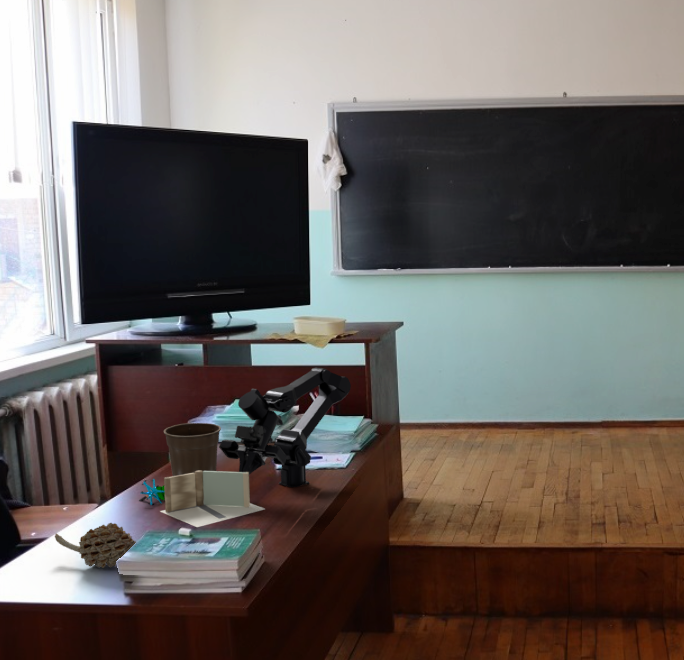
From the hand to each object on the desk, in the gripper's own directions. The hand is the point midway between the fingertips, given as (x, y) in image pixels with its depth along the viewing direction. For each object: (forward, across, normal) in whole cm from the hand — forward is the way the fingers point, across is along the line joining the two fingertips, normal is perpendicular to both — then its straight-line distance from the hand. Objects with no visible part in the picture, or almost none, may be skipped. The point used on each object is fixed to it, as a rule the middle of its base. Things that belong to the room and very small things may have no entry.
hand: (240, 479), depth 257 cm
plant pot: (-3, -25, +14) cm, 28 cm away
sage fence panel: (+7, -3, +2) cm, 8 cm away
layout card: (+10, -4, 0) cm, 11 cm away
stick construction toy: (+10, -24, +1) cm, 26 cm away
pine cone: (+41, -5, -30) cm, 52 cm away
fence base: (+11, -12, -2) cm, 16 cm away
